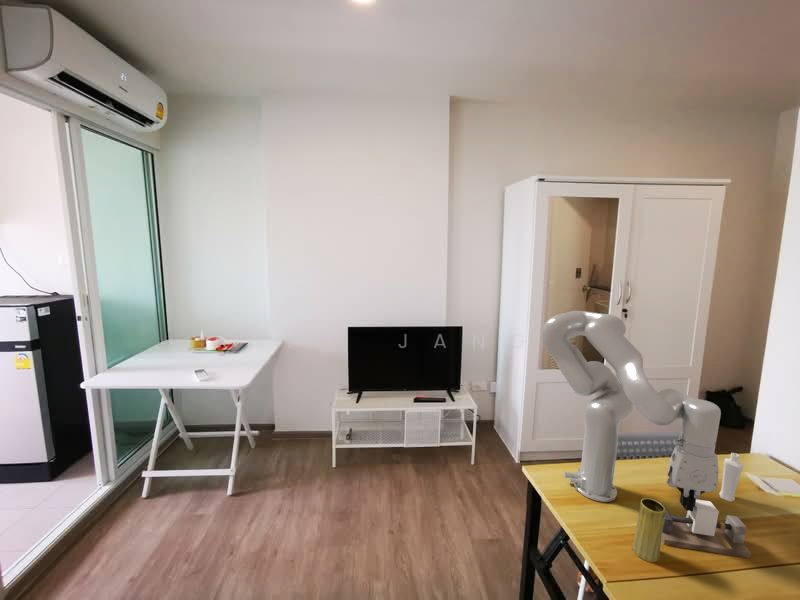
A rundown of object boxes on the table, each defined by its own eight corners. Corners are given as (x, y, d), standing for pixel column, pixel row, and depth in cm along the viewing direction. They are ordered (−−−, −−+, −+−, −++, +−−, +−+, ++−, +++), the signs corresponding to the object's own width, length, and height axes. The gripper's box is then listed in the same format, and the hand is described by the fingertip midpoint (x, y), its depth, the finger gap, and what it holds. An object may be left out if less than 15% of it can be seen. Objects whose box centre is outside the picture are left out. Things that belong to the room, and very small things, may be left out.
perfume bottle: (713, 492, 124) (721, 450, 121) (725, 492, 124) (734, 450, 122) (726, 502, 120) (734, 459, 117) (739, 502, 120) (748, 458, 117)
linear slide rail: (663, 544, 104) (667, 523, 102) (648, 517, 113) (651, 497, 112) (749, 558, 100) (754, 536, 98) (726, 528, 109) (730, 508, 108)
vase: (659, 566, 97) (667, 517, 94) (631, 555, 100) (638, 507, 97) (658, 549, 102) (666, 502, 99) (632, 539, 105) (638, 493, 102)
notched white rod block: (693, 532, 104) (697, 508, 103) (685, 522, 108) (689, 498, 107) (714, 536, 103) (718, 511, 102) (705, 525, 107) (710, 501, 106)
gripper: (671, 450, 100) (662, 512, 103) (737, 458, 97) (726, 522, 100) (658, 435, 107) (650, 494, 110) (720, 442, 104) (710, 502, 107)
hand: (686, 507), depth 105 cm, fingers closed
